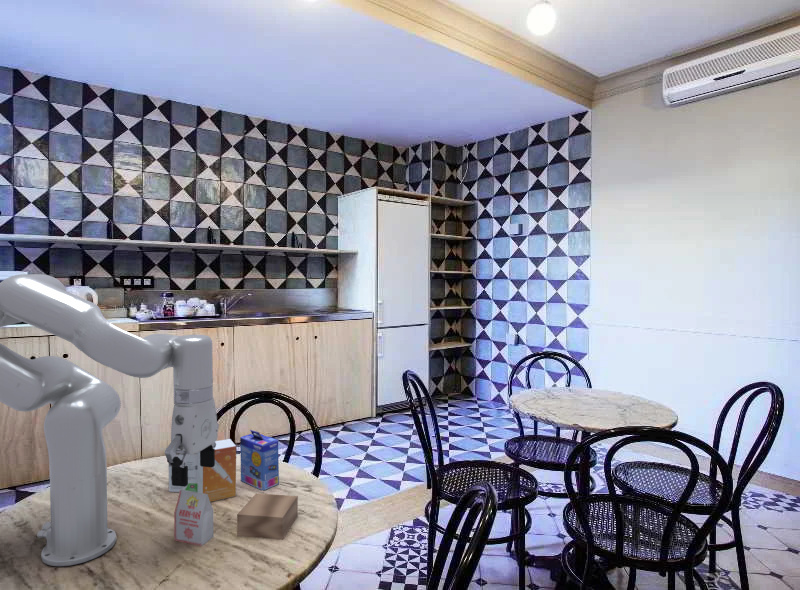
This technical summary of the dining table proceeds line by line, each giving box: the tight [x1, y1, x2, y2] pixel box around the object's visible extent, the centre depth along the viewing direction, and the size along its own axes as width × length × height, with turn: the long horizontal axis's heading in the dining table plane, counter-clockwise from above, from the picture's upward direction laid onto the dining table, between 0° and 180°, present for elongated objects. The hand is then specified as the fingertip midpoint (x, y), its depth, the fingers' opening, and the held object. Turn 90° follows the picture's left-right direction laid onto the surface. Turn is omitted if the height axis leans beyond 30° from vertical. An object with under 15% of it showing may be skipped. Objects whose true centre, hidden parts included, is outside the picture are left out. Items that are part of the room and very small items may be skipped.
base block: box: [236, 493, 299, 540], centre depth 108 cm, size 10×10×5 cm
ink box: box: [167, 449, 198, 493], centre depth 126 cm, size 9×5×12 cm, turn 83°
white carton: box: [173, 490, 214, 547], centre depth 102 cm, size 4×7×10 cm, turn 73°
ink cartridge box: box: [239, 429, 280, 491], centre depth 130 cm, size 10×6×14 cm, turn 54°
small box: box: [197, 438, 237, 503], centre depth 122 cm, size 8×6×13 cm
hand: (194, 475), depth 102 cm, fingers open, 9 cm apart
